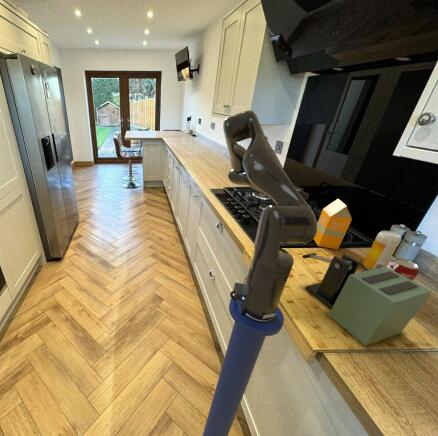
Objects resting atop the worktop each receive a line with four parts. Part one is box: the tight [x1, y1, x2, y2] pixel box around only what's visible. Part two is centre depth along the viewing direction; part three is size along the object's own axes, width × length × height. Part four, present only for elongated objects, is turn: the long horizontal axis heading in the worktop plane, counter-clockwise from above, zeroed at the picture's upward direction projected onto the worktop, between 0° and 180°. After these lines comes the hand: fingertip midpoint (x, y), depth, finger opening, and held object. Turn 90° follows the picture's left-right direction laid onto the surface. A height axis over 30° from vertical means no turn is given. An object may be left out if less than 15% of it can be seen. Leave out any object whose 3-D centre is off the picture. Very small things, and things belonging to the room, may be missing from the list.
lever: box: [301, 252, 352, 270], centre depth 74 cm, size 13×5×2 cm, turn 17°
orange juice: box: [312, 198, 353, 250], centre depth 102 cm, size 8×9×20 cm
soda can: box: [386, 257, 419, 281], centre depth 76 cm, size 7×7×12 cm
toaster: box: [328, 267, 433, 347], centre depth 63 cm, size 10×14×15 cm
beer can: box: [362, 230, 402, 271], centre depth 87 cm, size 6×6×15 cm
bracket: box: [305, 253, 362, 310], centre depth 72 cm, size 10×8×15 cm
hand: (298, 197), depth 82 cm, fingers open, 8 cm apart
